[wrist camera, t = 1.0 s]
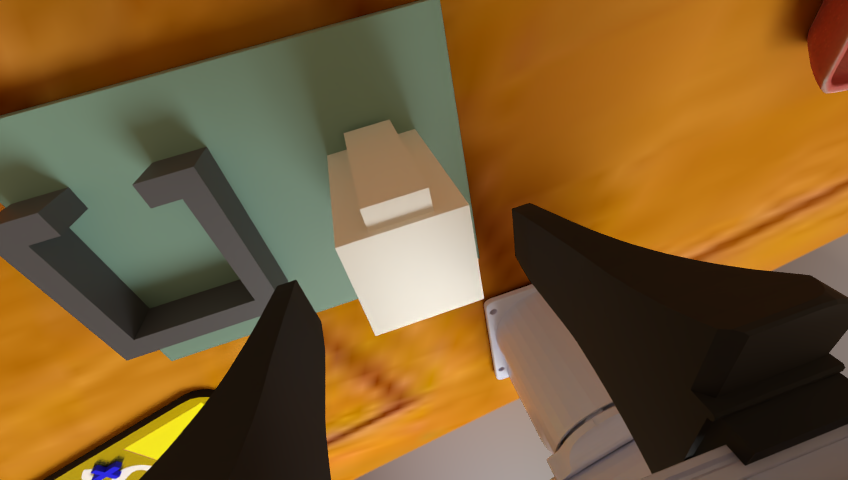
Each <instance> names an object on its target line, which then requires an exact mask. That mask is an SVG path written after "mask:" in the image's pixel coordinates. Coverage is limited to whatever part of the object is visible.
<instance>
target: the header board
mask: <svg viewBox="0 0 848 480" xmlns="http://www.w3.org/2000/svg"><path fill="white" fill-rule="evenodd" d="M386 120H390V121H391V123H392V125H393V126H394V128H395V130H396V132H397V133H398V134H400V133H403V132H406V131H410V130H413V129H415V130H416V131H417V132H418V134H419V135H420V137H421V138H422V139H423V141H424V142H425V144H426V145H427V146H428V148H429V149H430V151H431V152H432V153H433V155H434V156H435V158H436V159H437V160H438V162H439V163H440V165H441V166H442V167H443V169H444V170H445V172H446V173H447V174H448V176H449V177H450V179H451V180H452V181H453V183H454V184H455V186H456V187H457V188H458V190H459V191H460V193H461V194H462V195H463V197H464V198H465V200H466V201H467V202H468V204H469V206H470V213H471V219H472V225H473V232H474V238H475V244H476V251H477V257H478V258H479V251H478V245H477V238H476V232H475V225H474V219H473V212H472V206H471V199H470V193H469V186H468V180H467V173H466V167H465V160H464V154H463V147H462V141H461V134H460V128H459V121H458V115H457V108H456V102H455V95H454V89H453V82H452V76H451V69H450V63H449V56H448V50H447V43H446V37H445V30H444V24H443V17H442V11H441V4H440V0H419V1H415V2H411V3H408V4H404V5H400V6H397V7H393V8H390V9H386V10H382V11H379V12H375V13H371V14H368V15H364V16H360V17H357V18H353V19H350V20H346V21H342V22H339V23H335V24H331V25H328V26H324V27H321V28H317V29H313V30H310V31H306V32H302V33H299V34H295V35H292V36H288V37H284V38H281V39H277V40H273V41H270V42H266V43H262V44H259V45H255V46H252V47H248V48H244V49H241V50H237V51H233V52H230V53H226V54H223V55H219V56H215V57H212V58H208V59H204V60H201V61H197V62H194V63H190V64H186V65H183V66H179V67H175V68H172V69H168V70H164V71H161V72H157V73H154V74H150V75H146V76H143V77H139V78H135V79H132V80H128V81H125V82H121V83H117V84H114V85H110V86H106V87H103V88H99V89H96V90H92V91H88V92H85V93H81V94H77V95H74V96H70V97H67V98H63V99H59V100H56V101H52V102H48V103H45V104H41V105H37V106H34V107H30V108H27V109H23V110H19V111H16V112H12V113H8V114H5V115H1V116H0V203H1V204H2V205H3V206H5V207H6V208H5V209H3V210H2V211H1V212H0V256H1V257H2V258H3V259H5V260H6V261H7V262H8V263H9V264H11V265H12V266H13V267H14V268H15V269H17V270H18V271H19V272H20V273H22V274H23V275H24V276H25V277H26V278H28V279H29V280H30V281H31V282H32V283H34V284H35V285H36V286H37V287H38V288H40V289H41V290H42V291H43V292H45V293H46V294H47V295H48V296H49V297H51V298H52V299H53V300H54V301H55V302H57V303H58V304H59V305H60V306H61V307H63V308H64V309H65V310H66V311H68V312H69V313H70V314H71V315H72V316H74V317H75V318H76V319H77V320H78V321H80V322H81V323H82V324H83V325H84V326H86V327H87V328H88V329H89V330H91V331H92V332H93V333H94V334H95V335H97V336H98V337H99V338H100V339H101V340H103V341H104V342H105V343H106V344H107V345H109V346H110V347H111V348H112V349H114V350H115V351H116V352H117V353H118V354H120V355H121V356H122V357H123V358H124V359H126V360H130V359H133V358H136V357H139V356H142V355H145V354H148V353H151V352H154V351H157V350H160V351H162V352H163V353H164V354H165V355H166V356H167V357H168V358H169V359H170V360H171V361H173V360H176V359H179V358H182V357H185V356H188V355H191V354H194V353H197V352H200V351H203V350H206V349H209V348H212V347H215V346H218V345H221V344H224V343H227V342H230V341H233V340H236V339H239V338H242V337H245V336H248V335H251V333H252V331H253V329H254V327H255V326H256V324H257V322H258V320H259V318H260V316H261V315H262V313H263V311H264V309H265V307H266V305H267V303H268V302H269V300H270V298H271V296H272V294H273V292H274V291H275V289H276V287H277V286H278V285H281V284H284V283H287V282H290V281H293V280H297V282H298V283H299V285H300V287H301V288H302V290H303V292H304V293H305V295H306V297H307V299H308V300H309V302H310V304H311V305H312V307H313V309H314V310H315V312H316V313H317V312H320V311H323V310H326V309H329V308H332V307H335V306H338V305H341V304H344V303H347V302H350V301H353V300H356V299H358V297H357V294H356V292H355V290H354V288H353V286H352V284H351V282H350V279H349V277H348V275H347V273H346V271H345V269H344V266H343V264H342V262H341V260H340V258H339V256H338V254H337V251H336V249H335V242H334V231H333V219H332V207H331V196H330V184H329V172H328V161H327V155H330V154H334V153H337V152H340V151H344V150H347V147H346V143H345V138H344V133H346V132H349V131H352V130H356V129H359V128H362V127H366V126H369V125H372V124H376V123H379V122H382V121H386Z"/></svg>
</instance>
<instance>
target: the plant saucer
mask: <svg viewBox="0 0 848 480" xmlns="http://www.w3.org/2000/svg"><path fill="white" fill-rule="evenodd" d="M807 43H808V51H809V58H810V64H811V68H812V71H813V74H814V77H815V79H816V81H817V83H818V85H819V87H820V89H821V90H822V91H823V92H824V93H834V92H840V91H845V90H848V0H823V2H822V4H821V7H820V9H819V11H818V13H817V15H816V17H815V19H814V21H813V23H812V25H811V27H810V30H809V32H808V37H807Z"/></svg>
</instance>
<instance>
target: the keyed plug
mask: <svg viewBox="0 0 848 480" xmlns="http://www.w3.org/2000/svg"><path fill="white" fill-rule="evenodd" d="M344 138H345V143H346V147H347V150H344V151H340V152H337V153H334V154H330V155H327V161H328V172H329V184H330V196H331V207H332V219H333V231H334V242H335V249H336V251H337V254H338V256H339V258H340V260H341V262H342V264H343V266H344V269H345V271H346V273H347V275H348V277H349V279H350V282H351V284H352V286H353V288H354V290H355V292H356V294H357V297H358V299H359V301H360V303H361V305H362V307H363V310H364V312H365V314H366V316H367V318H368V320H369V322H370V325H371V327H372V329H373V331H374V333H375V335H376V336H377V335H380V334H383V333H386V332H389V331H392V330H395V329H398V328H401V327H403V326H406V325H409V324H412V323H415V322H418V321H421V320H424V319H427V318H430V317H433V316H435V315H438V314H441V313H444V312H447V311H450V310H453V309H456V308H459V307H462V306H465V305H467V304H470V303H473V302H476V301H479V300H482V299H484V295H483V289H482V282H481V276H480V270H479V263H478V257H477V251H476V244H475V238H474V232H473V225H472V219H471V213H470V206H469V204H468V202H467V201H466V200H465V198H464V197H463V195H462V194H461V193H460V191H459V190H458V188H457V187H456V186H455V184H454V183H453V181H452V180H451V179H450V177H449V176H448V174H447V173H446V172H445V170H444V169H443V167H442V166H441V165H440V163H439V162H438V160H437V159H436V158H435V156H434V155H433V153H432V152H431V151H430V149H429V148H428V146H427V145H426V144H425V142H424V141H423V139H422V138H421V137H420V135H419V134H418V132H417V131H416V130H415V129H413V130H410V131H406V132H403V133H400V134H398V133H397V132H396V130H395V128H394V126H393V125H392V123H391V121H390V120H386V121H382V122H379V123H376V124H372V125H369V126H366V127H362V128H359V129H356V130H352V131H349V132H346V133H344Z"/></svg>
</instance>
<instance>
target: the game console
mask: <svg viewBox="0 0 848 480" xmlns="http://www.w3.org/2000/svg"><path fill="white" fill-rule="evenodd" d="M214 391H215V390H211V389H205V390H197V391H192V392H190V393H188V394H185V395H183V396H182V397H180V398H178V399H177V400H175V401H173V402H172V403H170V404H168V405H167V406H165V407H163V408H162V409H160V410H158V411H157V412H155V413H153V414H152V415H150V416H148V417H147V418H145V419H144V420H142V421H140V422H139V423H137V424H135V425H134V426H132V427H130V428H129V429H127V430H125V431H124V432H122V433H120V434H119V435H117V436H115V437H114V438H112V439H110V440H109V441H107V442H105V443H104V444H102V445H100V446H99V447H97V448H95V449H94V450H92V451H90V452H89V453H87V454H85V455H84V456H82V457H80V458H79V459H77V460H75V461H74V462H72V463H70V464H69V465H67V466H65V467H64V468H62V469H60V470H59V471H57V472H55V473H54V474H52V475H50V476H49V477H47V478H45V479H44V480H139V479H140V478H141V477H142V476H143V475H144V474H145V473H146V472H147V471H148V470H149V469H150V468H151V466H152V465H153V464H154V463H155V462H156V461H157V460H158V459H159V458H160V457H161V455H162V454H163V453H164V452H165V451H166V450H167V449H168V448H169V447H170V445H171V444H172V443H173V442H174V441H175V440H176V438H177V437H178V436H179V435H180V434H181V432H182V431H183V430H184V429H185V428H186V426H187V425H188V424H189V423H190V422H191V420H192V419H193V418H194V417H195V416H196V414H197V413H198V412H199V411H200V409H201V408H202V407H203V405H204V404H205V403H206V401H207V400H208V399H209V397H210V396H211V395H212V393H213V392H214Z"/></svg>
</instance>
